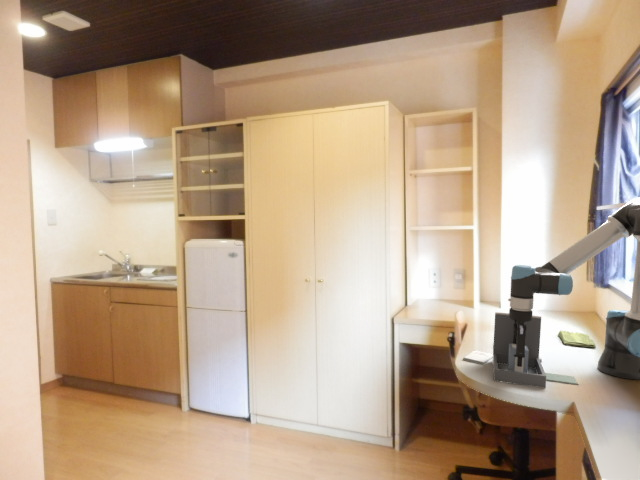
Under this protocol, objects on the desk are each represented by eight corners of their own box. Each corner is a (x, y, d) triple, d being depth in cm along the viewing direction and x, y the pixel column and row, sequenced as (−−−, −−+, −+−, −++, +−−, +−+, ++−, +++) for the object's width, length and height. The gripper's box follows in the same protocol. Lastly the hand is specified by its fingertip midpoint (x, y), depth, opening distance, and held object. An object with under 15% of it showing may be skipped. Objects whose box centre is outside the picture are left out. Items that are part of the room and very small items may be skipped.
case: (540, 367, 170) (543, 316, 168) (548, 388, 150) (551, 330, 148) (492, 361, 175) (495, 311, 174) (494, 380, 156) (497, 325, 154)
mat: (574, 377, 160) (574, 376, 160) (578, 384, 154) (578, 383, 154) (543, 373, 164) (543, 372, 164) (545, 380, 157) (545, 379, 157)
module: (525, 372, 164) (527, 344, 163) (527, 378, 158) (528, 349, 158) (507, 370, 166) (509, 342, 165) (508, 375, 160) (510, 347, 160)
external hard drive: (462, 361, 176) (474, 353, 186) (484, 366, 171) (494, 358, 181) (463, 357, 176) (474, 349, 186) (484, 362, 171) (494, 354, 181)
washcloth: (563, 346, 199) (563, 339, 198) (557, 335, 215) (557, 329, 215) (597, 350, 194) (598, 343, 194) (588, 339, 211) (588, 332, 210)
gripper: (507, 301, 172) (504, 358, 174) (511, 314, 151) (507, 379, 153) (529, 303, 170) (525, 361, 171) (536, 316, 149) (532, 382, 151)
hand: (517, 369), depth 162 cm, fingers open, 9 cm apart
